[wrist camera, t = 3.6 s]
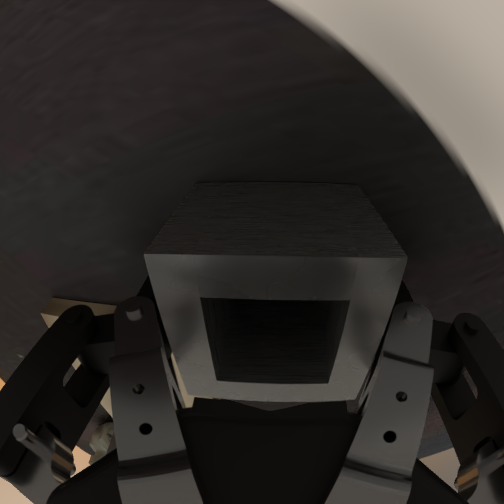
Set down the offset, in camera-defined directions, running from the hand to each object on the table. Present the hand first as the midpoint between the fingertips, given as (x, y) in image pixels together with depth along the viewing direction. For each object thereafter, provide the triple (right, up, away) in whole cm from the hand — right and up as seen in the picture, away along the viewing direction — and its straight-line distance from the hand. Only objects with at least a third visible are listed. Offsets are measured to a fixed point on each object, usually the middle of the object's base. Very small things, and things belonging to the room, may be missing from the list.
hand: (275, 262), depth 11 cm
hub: (0, 0, +1) cm, 1 cm away
